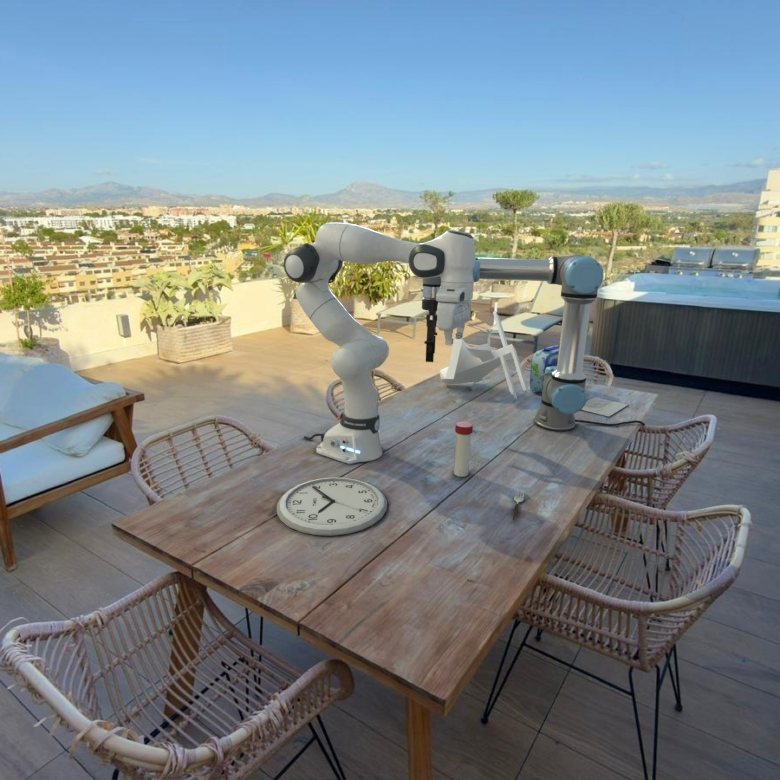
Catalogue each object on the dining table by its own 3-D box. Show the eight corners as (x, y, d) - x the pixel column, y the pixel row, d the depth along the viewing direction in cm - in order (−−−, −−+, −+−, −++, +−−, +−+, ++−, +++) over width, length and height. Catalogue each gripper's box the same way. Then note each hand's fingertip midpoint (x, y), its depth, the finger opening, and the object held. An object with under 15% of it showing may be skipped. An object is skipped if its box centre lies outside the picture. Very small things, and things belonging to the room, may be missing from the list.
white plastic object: (461, 429, 252) (437, 405, 227) (444, 352, 274) (420, 323, 250) (535, 404, 240) (518, 377, 215) (510, 326, 262) (492, 293, 237)
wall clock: (392, 527, 129) (268, 531, 127) (391, 533, 130) (269, 537, 127) (383, 473, 158) (282, 475, 155) (383, 478, 158) (282, 480, 156)
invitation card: (608, 416, 214) (573, 407, 224) (608, 416, 214) (573, 408, 224) (628, 404, 229) (594, 396, 238) (628, 405, 229) (594, 397, 238)
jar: (462, 478, 160) (465, 429, 155) (451, 473, 163) (453, 425, 158) (471, 473, 163) (474, 425, 158) (459, 469, 166) (462, 421, 161)
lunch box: (546, 398, 236) (551, 353, 229) (525, 393, 243) (529, 349, 237) (573, 387, 253) (579, 344, 247) (553, 382, 260) (558, 341, 254)
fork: (507, 521, 136) (508, 514, 136) (515, 493, 151) (516, 487, 150) (517, 523, 135) (518, 516, 135) (524, 495, 150) (525, 488, 149)
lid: (465, 436, 155) (466, 428, 154) (451, 431, 158) (452, 424, 158) (475, 431, 159) (476, 424, 158) (461, 427, 162) (462, 419, 161)
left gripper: (456, 287, 154) (454, 334, 158) (433, 295, 136) (431, 347, 140) (477, 289, 151) (474, 336, 156) (457, 297, 134) (454, 349, 138)
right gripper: (424, 293, 195) (422, 349, 202) (419, 302, 172) (417, 365, 178) (444, 294, 195) (441, 350, 201) (442, 303, 171) (439, 366, 177)
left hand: (454, 341), depth 148 cm, fingers open, 8 cm apart
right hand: (430, 357), depth 190 cm, fingers open, 13 cm apart
